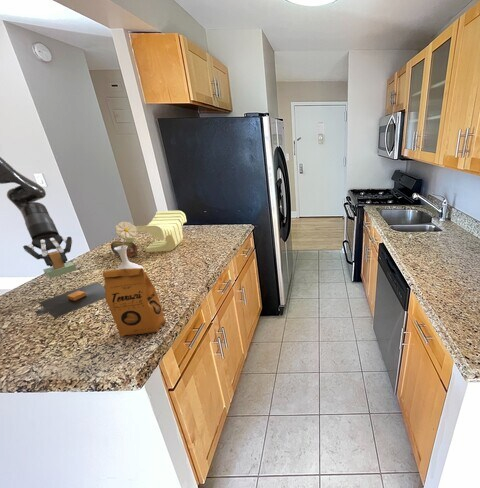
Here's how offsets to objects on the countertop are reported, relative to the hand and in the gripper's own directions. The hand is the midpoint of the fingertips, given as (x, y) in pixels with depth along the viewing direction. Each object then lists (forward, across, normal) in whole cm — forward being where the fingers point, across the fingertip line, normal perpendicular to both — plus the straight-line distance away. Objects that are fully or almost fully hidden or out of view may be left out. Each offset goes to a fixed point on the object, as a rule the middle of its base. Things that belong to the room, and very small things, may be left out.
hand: (58, 263), depth 99 cm
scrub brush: (+2, 0, +5) cm, 5 cm away
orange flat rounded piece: (+13, +1, +5) cm, 14 cm away
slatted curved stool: (-8, +45, +29) cm, 54 cm away
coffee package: (+42, +12, -21) cm, 48 cm away
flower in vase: (+9, +21, +12) cm, 26 cm away
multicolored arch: (-10, +26, +31) cm, 42 cm away
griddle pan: (+15, +1, +5) cm, 16 cm away
